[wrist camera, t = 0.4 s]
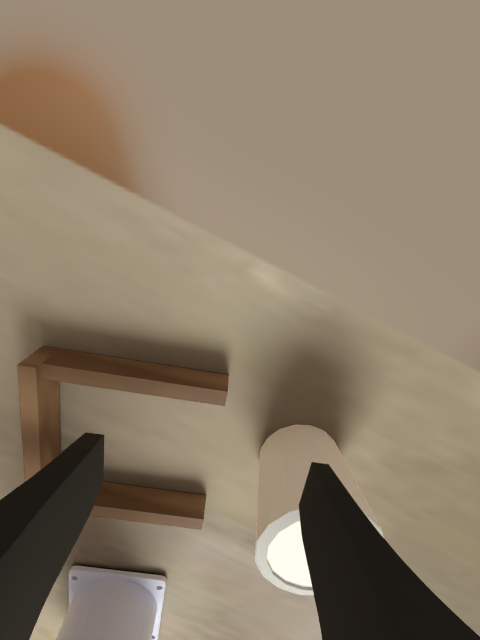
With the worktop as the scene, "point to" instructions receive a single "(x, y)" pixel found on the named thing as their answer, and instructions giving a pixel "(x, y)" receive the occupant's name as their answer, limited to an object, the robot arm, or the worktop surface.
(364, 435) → the worktop surface
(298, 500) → the white cylinder
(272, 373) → the worktop surface
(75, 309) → the worktop surface
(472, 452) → the worktop surface
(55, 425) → the walnut bay
